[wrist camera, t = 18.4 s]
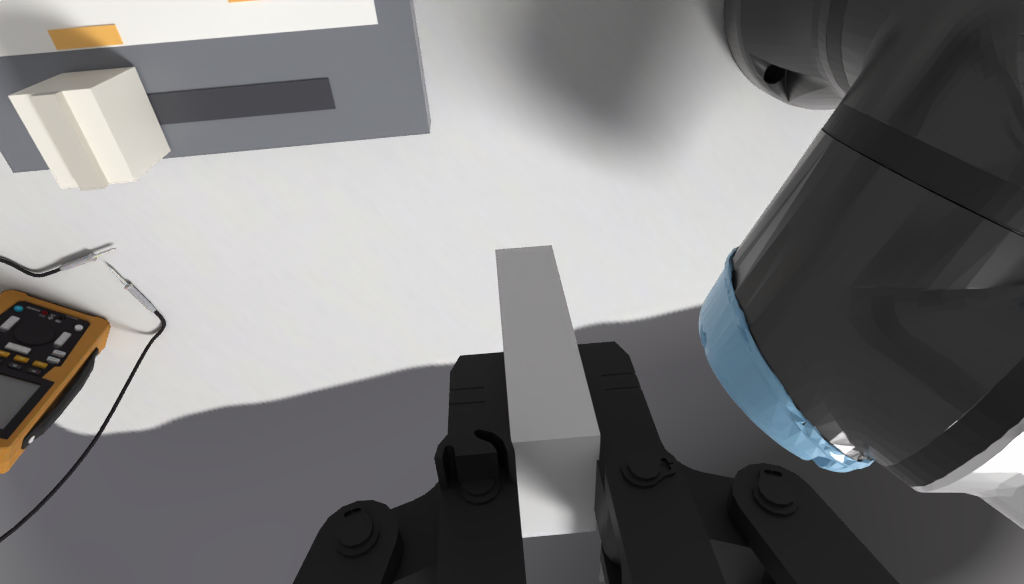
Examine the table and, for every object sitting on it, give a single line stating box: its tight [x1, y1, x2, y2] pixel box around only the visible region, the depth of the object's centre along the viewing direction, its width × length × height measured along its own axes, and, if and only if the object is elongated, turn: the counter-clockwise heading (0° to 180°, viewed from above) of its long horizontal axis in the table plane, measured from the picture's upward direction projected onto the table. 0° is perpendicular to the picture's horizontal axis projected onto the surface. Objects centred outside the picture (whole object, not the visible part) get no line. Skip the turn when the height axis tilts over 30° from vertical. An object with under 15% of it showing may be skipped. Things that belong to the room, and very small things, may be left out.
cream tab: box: [8, 67, 171, 191], centre depth 31 cm, size 4×5×5 cm
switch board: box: [0, 0, 431, 173], centre depth 32 cm, size 26×16×3 cm, turn 93°
